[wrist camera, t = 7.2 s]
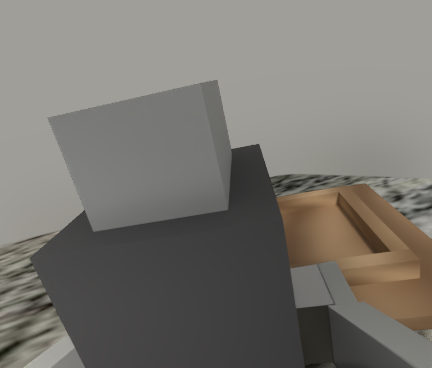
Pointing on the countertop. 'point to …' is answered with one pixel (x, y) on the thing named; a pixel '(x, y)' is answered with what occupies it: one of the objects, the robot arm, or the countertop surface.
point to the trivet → (364, 248)
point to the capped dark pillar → (170, 240)
